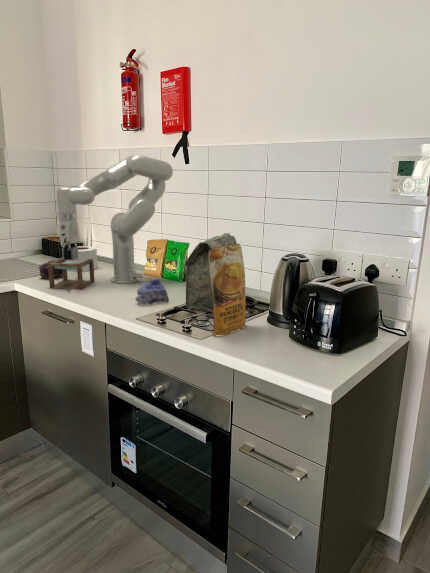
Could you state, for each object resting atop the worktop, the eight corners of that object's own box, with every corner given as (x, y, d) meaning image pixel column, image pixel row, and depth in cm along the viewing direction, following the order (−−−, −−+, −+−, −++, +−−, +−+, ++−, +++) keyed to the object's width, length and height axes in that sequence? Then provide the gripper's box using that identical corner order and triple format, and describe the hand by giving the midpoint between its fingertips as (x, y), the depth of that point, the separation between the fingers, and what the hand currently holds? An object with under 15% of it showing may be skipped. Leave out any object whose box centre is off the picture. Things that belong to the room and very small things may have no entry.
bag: (209, 294, 186) (210, 230, 179) (243, 300, 179) (246, 233, 172) (181, 308, 166) (180, 236, 160) (218, 315, 159) (220, 240, 152)
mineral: (157, 274, 180) (170, 278, 173) (160, 296, 183) (174, 300, 175) (126, 283, 172) (139, 287, 164) (130, 306, 174) (143, 311, 167)
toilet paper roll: (60, 269, 229) (59, 248, 226) (84, 264, 241) (83, 244, 239) (80, 273, 221) (79, 252, 218) (103, 268, 233) (102, 247, 230)
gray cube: (78, 257, 195) (77, 246, 194) (73, 260, 191) (72, 248, 189) (67, 257, 196) (67, 246, 195) (62, 259, 191) (61, 248, 190)
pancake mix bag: (199, 334, 140) (200, 247, 133) (237, 320, 154) (240, 241, 147) (215, 340, 136) (217, 250, 129) (253, 325, 149) (256, 243, 142)
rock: (39, 280, 210) (50, 283, 204) (34, 263, 207) (45, 265, 201) (61, 272, 218) (72, 275, 212) (57, 256, 215) (68, 258, 209)
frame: (94, 281, 203) (93, 258, 201) (81, 289, 189) (80, 265, 187) (64, 280, 205) (63, 257, 202) (49, 288, 191) (47, 263, 188)
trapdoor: (87, 264, 200) (87, 262, 200) (77, 269, 189) (77, 267, 189) (66, 263, 201) (65, 261, 201) (54, 268, 190) (54, 266, 190)
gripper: (67, 218, 180) (70, 262, 185) (84, 214, 196) (86, 254, 201) (49, 218, 181) (53, 261, 185) (68, 214, 197) (71, 254, 202)
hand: (70, 257), depth 193 cm, fingers closed on gray cube, 5 cm apart
